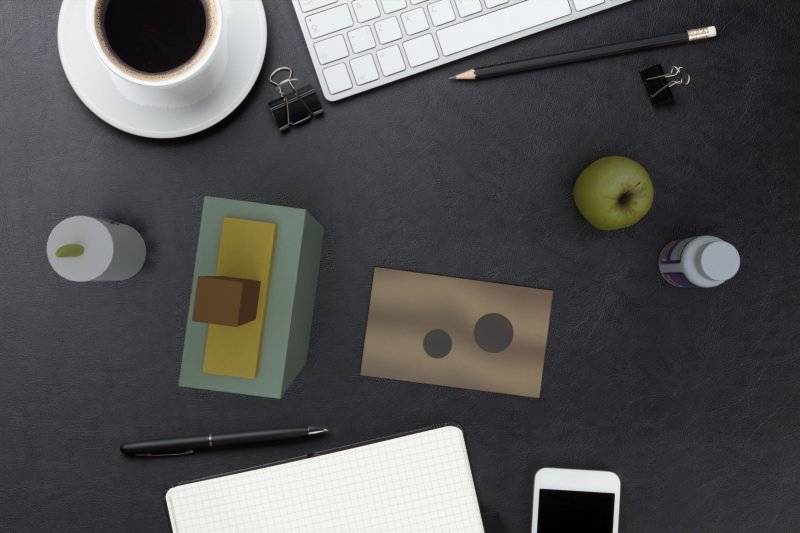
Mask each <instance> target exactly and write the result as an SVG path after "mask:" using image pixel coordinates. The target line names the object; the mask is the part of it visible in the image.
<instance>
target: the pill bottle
mask: <svg viewBox="0 0 800 533" xmlns="http://www.w3.org/2000/svg"><path fill="white" fill-rule="evenodd" d="M739 254H740V253H739V252H738V250H737V248H736V247H735V246H734V245H733V244H731V243H729V242H727V241H724V240H723V239H721V238H719V237H717V236H715V235H698V236H693V237H685V238H679V239H674V240H672V241H670V242H669V243H667V244H666V245H665V246H664V247H663V249H662V250H661V252H660V254H659V257H658V268H659V269H658V270H659V272H660V274H661V276H662V277H663V278H664V280H665V281H666V282H668V283H669V284H671V285H673V286H675V287H678V288H679V287H680V288H714V287H717V286H720V285H721V284H723V283H725V282H726V281H727V280H730V279H732V278H733V277H734V276H735V275H736V274H737V272H739V269H740V265H741V257H740V255H739Z"/></svg>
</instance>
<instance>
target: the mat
mask: <svg viewBox="0 0 800 533" xmlns="http://www.w3.org/2000/svg"><path fill="white" fill-rule="evenodd" d="M370 290H371V291H370V298H369V305H368V312H367V314H368V315H367V320H366V327H365V336H364V343H363V350H362V356H361V365H360V373H359V375H360V376H364V377H371V378H379V379H386V380H393V381H402V382H403V381H404V382H408V383H409V382H410V383H418V384H426V385H433V386H441V387H450V388H458V389H465V390H472V391H480V392H488V393H496V394H503V395H510V396H511V395H512V396H520V397H527V398H536V399H540V396H541V390H542V388H541V387H542V380H543V373H544V366H545V358H546V350H547V342H548V336H549V327H550V320H551V312H552V305H553V296H554V290H551V289H543V288H537V287H528V286H521V285H514V284H507V283H499V282H493V281H492V282H491V281H484V280H476V279H469V278H461V277H454V276H447V275H445V276H444V275H439V274H432V273H425V272H417V271H408V270H401V269H394V268H387V267H379V266H374V268H373V274H372V284H371V289H370Z"/></svg>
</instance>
